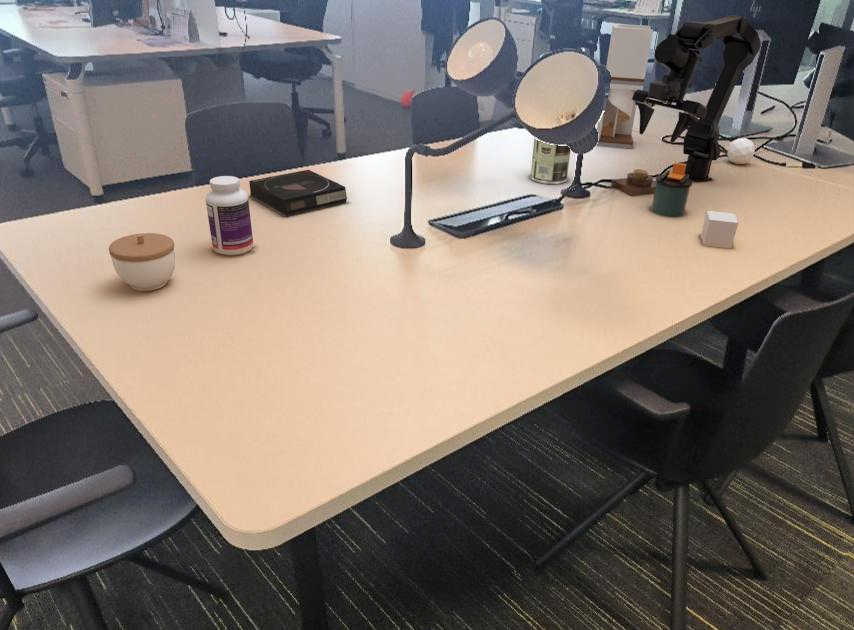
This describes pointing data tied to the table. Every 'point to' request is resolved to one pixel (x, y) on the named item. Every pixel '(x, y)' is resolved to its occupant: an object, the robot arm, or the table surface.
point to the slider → (677, 171)
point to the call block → (635, 185)
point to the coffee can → (549, 163)
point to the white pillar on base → (624, 82)
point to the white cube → (719, 229)
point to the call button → (640, 173)
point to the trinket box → (144, 260)
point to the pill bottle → (229, 216)
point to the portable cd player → (297, 192)
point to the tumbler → (670, 195)
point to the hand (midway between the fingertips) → (655, 138)
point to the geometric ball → (741, 151)
